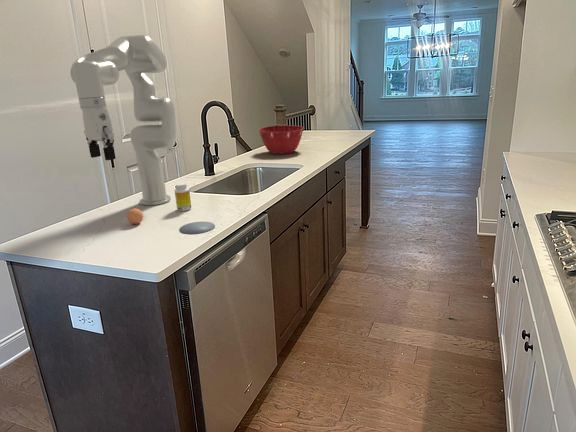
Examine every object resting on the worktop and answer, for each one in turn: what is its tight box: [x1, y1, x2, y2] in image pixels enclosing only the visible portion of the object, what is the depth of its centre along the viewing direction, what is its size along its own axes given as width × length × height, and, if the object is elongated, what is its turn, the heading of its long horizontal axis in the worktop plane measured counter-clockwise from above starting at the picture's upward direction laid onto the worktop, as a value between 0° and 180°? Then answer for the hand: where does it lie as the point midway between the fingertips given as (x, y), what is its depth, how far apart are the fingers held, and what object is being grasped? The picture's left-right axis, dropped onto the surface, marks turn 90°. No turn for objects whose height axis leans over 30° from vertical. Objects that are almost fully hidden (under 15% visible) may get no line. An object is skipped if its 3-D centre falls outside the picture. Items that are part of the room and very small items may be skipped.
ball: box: [126, 208, 144, 225], centre depth 157 cm, size 6×6×6 cm
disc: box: [178, 221, 216, 235], centre depth 150 cm, size 12×12×1 cm
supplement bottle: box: [174, 182, 192, 212], centre depth 171 cm, size 6×6×10 cm
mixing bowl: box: [258, 124, 304, 155], centre depth 278 cm, size 28×28×16 cm
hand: (103, 158), depth 141 cm, fingers open, 9 cm apart
